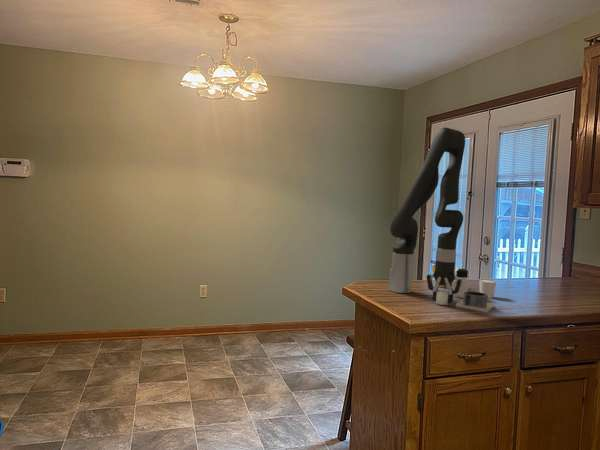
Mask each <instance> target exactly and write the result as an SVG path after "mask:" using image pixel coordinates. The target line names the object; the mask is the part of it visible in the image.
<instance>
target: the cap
mask: <svg viewBox="0 0 600 450" xmlns="http://www.w3.org/2000/svg"><path fill="white" fill-rule="evenodd" d="M448 295H449V291H448V290H445V289H438V290H437V293H436V301H435V304H437V305H440V306H448V305H450V304H448Z"/></svg>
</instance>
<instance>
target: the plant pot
mask: <svg viewBox="0 0 600 450" xmlns="http://www.w3.org/2000/svg"><path fill="white" fill-rule="evenodd" d="M431 273H432V274H434V273H435V264H432V265H431ZM433 281H434V284H435V283H436V280H435V278H434V277H433ZM439 288H447V286H444V285H440V286H439Z"/></svg>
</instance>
